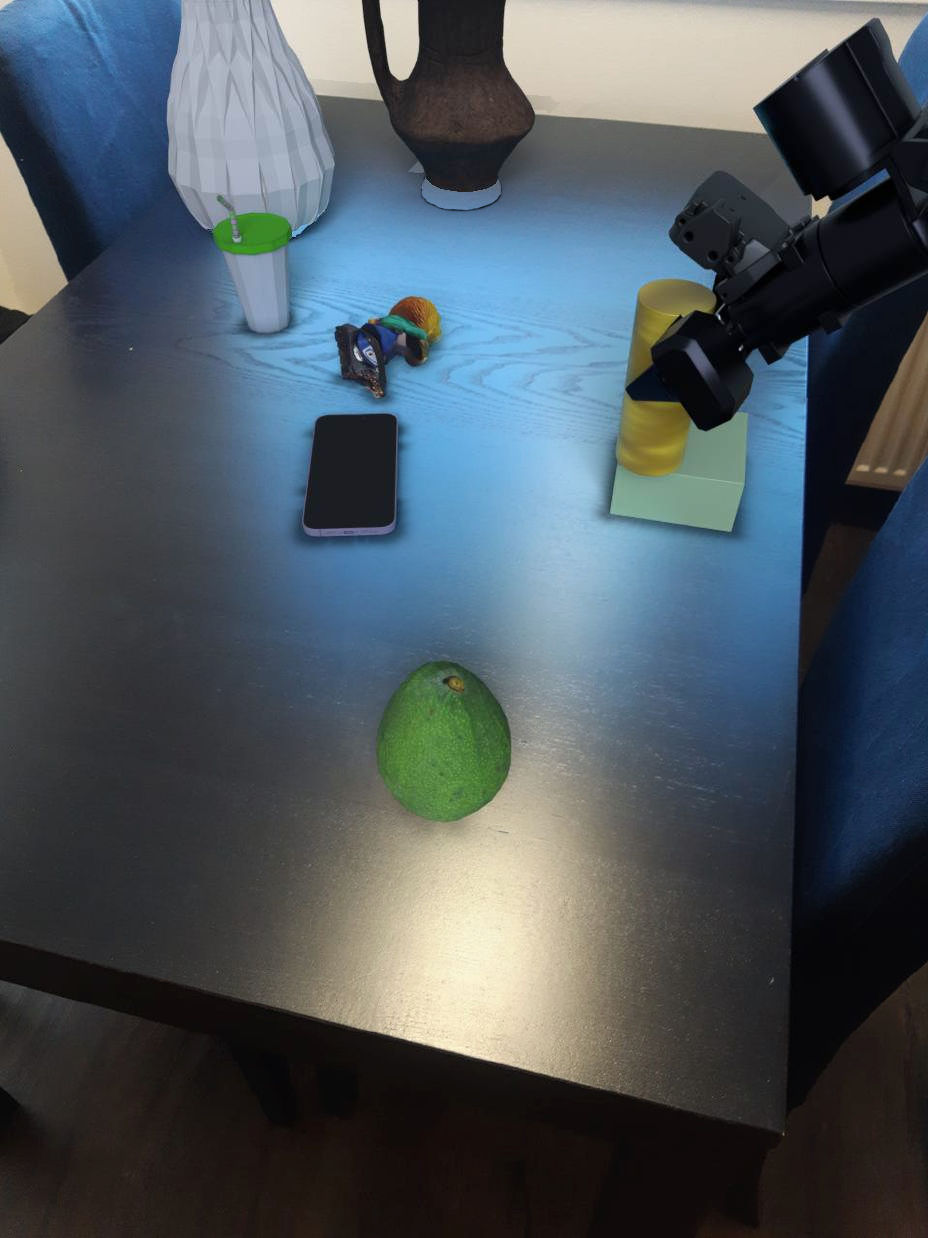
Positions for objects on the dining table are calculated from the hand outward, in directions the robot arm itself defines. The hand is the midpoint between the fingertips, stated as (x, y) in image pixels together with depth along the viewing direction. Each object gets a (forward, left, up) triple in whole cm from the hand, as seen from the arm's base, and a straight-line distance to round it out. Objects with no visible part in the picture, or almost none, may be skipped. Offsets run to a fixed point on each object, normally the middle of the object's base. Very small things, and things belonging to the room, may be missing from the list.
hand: (645, 375), depth 64 cm
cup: (+35, -32, -14) cm, 49 cm away
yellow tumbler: (-1, +1, -7) cm, 7 cm away
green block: (-5, -4, -13) cm, 15 cm away
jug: (+16, -67, -14) cm, 70 cm away
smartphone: (+23, -5, -14) cm, 27 cm away
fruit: (+14, +27, -14) cm, 33 cm away
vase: (+40, -57, -14) cm, 70 cm away
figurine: (+21, -23, -14) cm, 34 cm away
